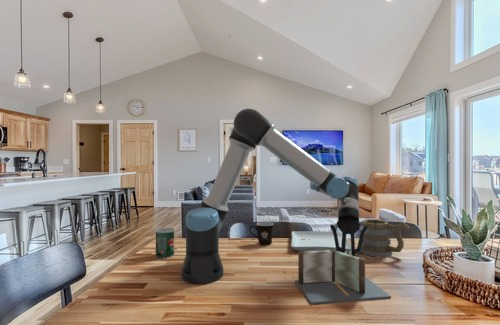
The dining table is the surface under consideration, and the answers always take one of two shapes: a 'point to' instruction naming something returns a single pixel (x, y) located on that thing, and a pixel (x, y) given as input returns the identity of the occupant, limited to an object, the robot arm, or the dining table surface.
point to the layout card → (339, 292)
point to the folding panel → (350, 271)
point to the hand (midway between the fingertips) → (348, 271)
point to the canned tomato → (164, 243)
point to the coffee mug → (264, 232)
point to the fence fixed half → (316, 266)
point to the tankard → (381, 238)
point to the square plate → (316, 241)
